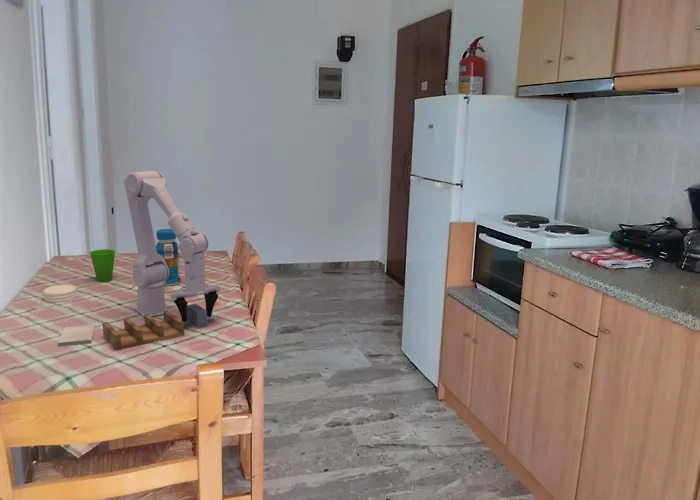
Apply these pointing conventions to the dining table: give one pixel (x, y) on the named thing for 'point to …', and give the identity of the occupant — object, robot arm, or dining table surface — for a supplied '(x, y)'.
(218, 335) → the dining table surface
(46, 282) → the dining table surface
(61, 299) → the coaster
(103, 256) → the cup
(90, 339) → the hard drive
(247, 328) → the dining table surface
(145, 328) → the rack
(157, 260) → the robot arm
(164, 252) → the beverage bottle
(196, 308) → the tall slate-grey prism
